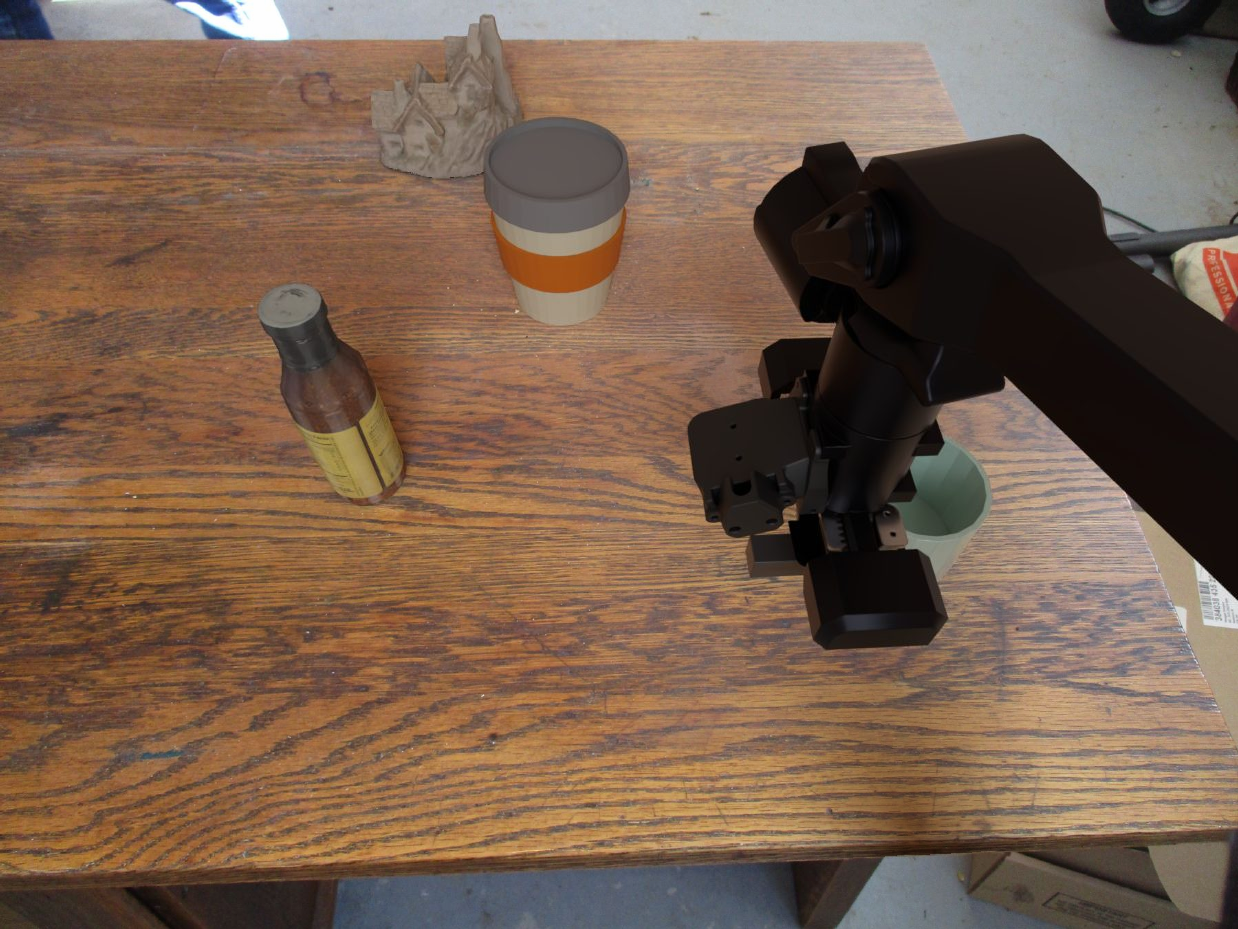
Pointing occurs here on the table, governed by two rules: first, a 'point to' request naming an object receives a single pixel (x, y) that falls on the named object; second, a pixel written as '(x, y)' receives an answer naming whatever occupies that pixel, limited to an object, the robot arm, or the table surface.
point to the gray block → (771, 556)
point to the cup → (946, 504)
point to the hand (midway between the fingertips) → (809, 553)
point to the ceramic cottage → (448, 108)
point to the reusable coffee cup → (558, 213)
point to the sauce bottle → (332, 397)
